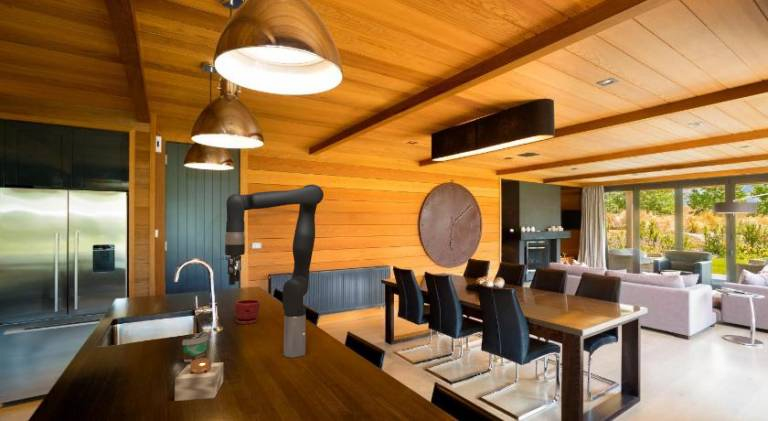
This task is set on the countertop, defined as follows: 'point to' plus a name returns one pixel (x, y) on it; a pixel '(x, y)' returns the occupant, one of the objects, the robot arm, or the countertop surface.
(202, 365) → the copper pin
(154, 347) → the countertop surface
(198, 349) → the food container
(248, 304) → the plant pot
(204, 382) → the birch block
